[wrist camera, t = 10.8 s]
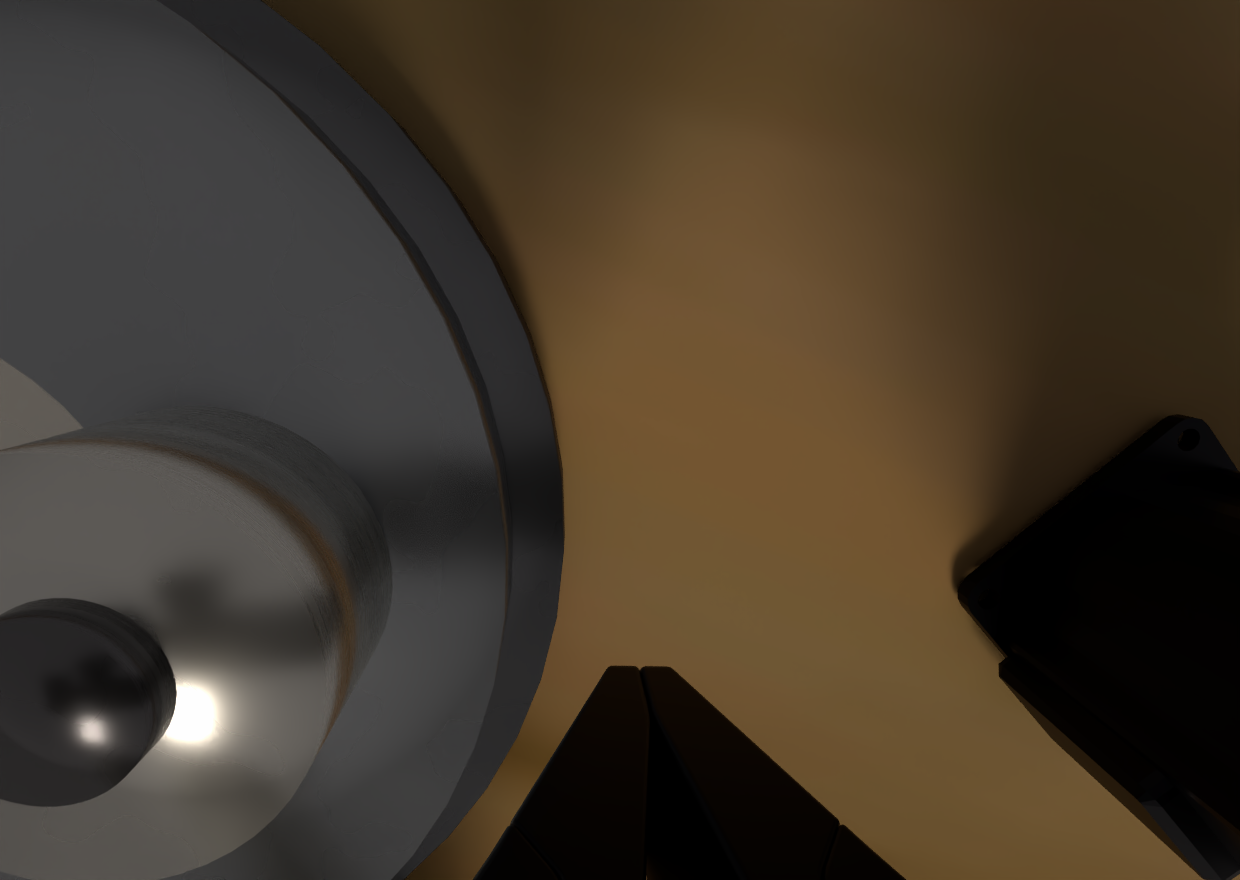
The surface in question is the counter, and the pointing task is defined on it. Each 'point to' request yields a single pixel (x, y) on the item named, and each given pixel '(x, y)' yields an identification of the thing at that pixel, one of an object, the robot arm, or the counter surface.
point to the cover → (172, 636)
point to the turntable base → (492, 327)
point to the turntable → (259, 369)
